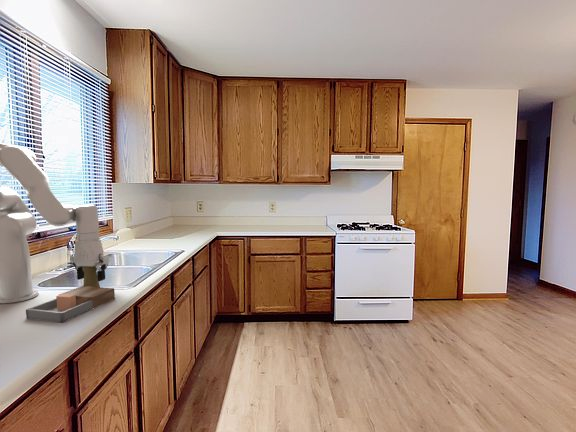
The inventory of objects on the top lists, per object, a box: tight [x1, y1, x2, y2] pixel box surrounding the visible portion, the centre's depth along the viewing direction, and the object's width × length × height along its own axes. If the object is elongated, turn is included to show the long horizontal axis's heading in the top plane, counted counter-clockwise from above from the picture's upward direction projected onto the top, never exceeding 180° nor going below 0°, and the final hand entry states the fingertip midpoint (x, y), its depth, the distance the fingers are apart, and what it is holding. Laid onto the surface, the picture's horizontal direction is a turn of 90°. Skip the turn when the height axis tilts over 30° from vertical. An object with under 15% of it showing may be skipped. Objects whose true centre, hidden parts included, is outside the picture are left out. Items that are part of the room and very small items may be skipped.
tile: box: [55, 293, 76, 311], centre depth 110 cm, size 5×5×2 cm
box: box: [25, 298, 93, 324], centre depth 109 cm, size 14×12×3 cm
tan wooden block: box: [58, 285, 116, 309], centre depth 119 cm, size 14×10×4 cm
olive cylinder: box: [82, 266, 101, 287], centre depth 132 cm, size 6×6×11 cm
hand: (91, 279), depth 132 cm, fingers open, 9 cm apart
